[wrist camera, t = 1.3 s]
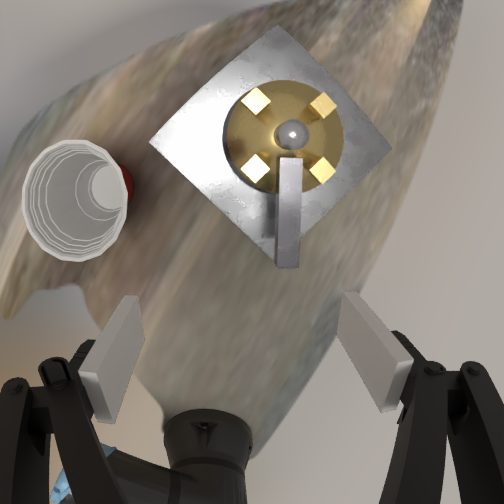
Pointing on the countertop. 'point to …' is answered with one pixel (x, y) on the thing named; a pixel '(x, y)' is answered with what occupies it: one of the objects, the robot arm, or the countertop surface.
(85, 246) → the plastic cup
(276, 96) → the brass dial with lever
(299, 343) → the countertop surface
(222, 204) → the flange plate
